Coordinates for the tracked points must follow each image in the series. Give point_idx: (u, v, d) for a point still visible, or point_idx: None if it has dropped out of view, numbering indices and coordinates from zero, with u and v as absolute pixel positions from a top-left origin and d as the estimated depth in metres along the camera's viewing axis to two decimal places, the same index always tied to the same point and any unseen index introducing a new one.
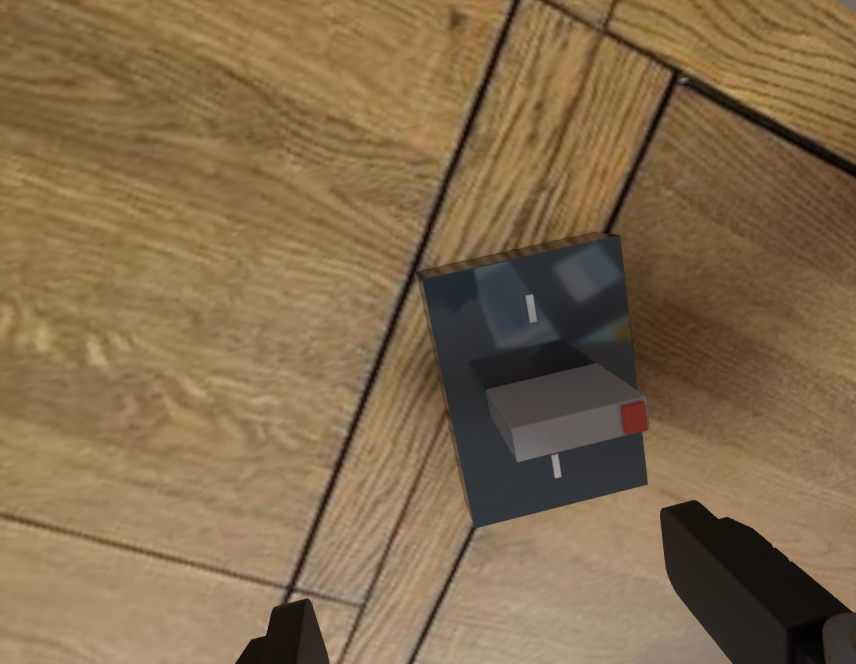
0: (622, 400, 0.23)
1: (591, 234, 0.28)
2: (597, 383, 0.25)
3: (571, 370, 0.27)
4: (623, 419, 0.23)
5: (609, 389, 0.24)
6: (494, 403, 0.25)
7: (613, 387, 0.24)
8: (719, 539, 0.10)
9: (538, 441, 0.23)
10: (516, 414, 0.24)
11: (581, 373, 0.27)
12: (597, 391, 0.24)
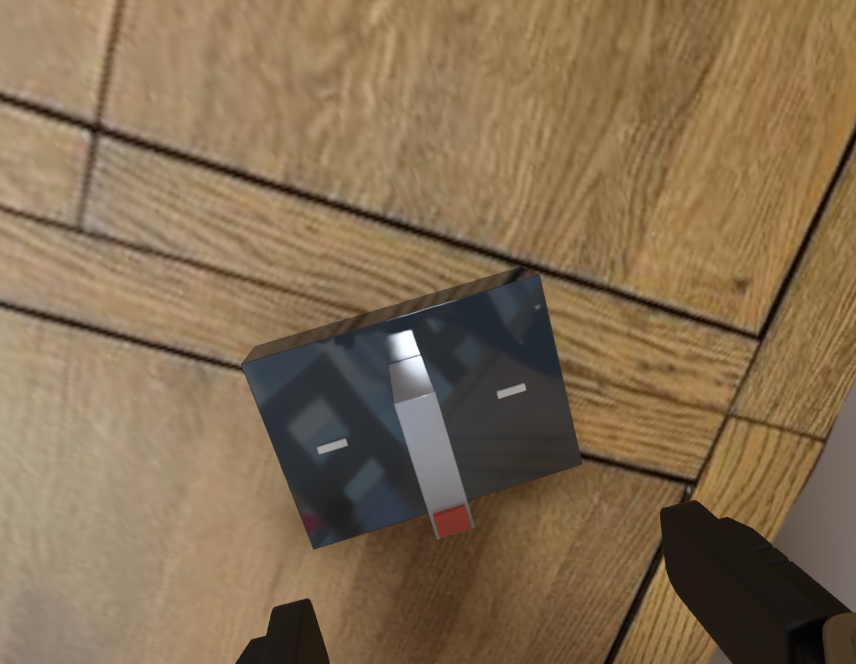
0: (468, 504, 0.21)
1: None
2: None
3: None
4: (450, 510, 0.21)
5: None
6: (425, 367, 0.23)
7: None
8: (719, 539, 0.10)
9: (421, 424, 0.20)
10: None
11: None
12: None
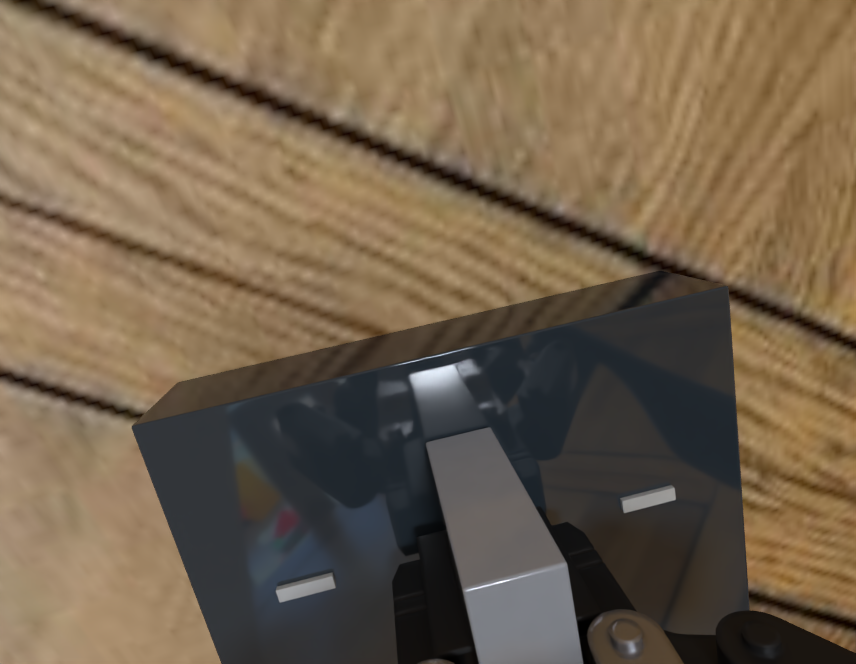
0: None
1: None
2: None
3: None
4: None
5: None
6: (509, 465, 0.11)
7: None
8: None
9: (523, 637, 0.08)
10: None
11: None
12: None
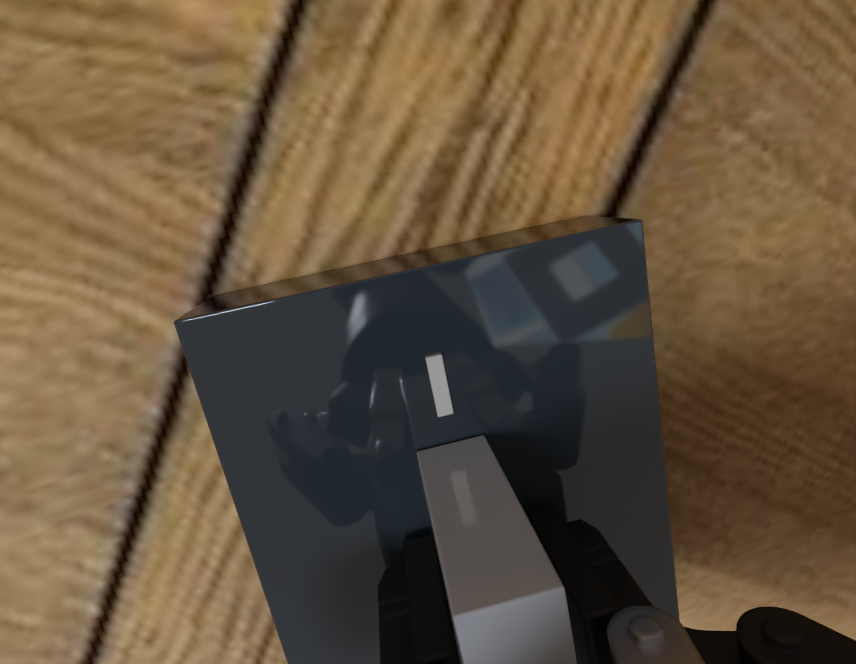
0: None
1: (578, 219, 0.14)
2: None
3: None
4: None
5: None
6: (504, 477, 0.10)
7: None
8: (558, 539, 0.11)
9: None
10: None
11: None
12: None
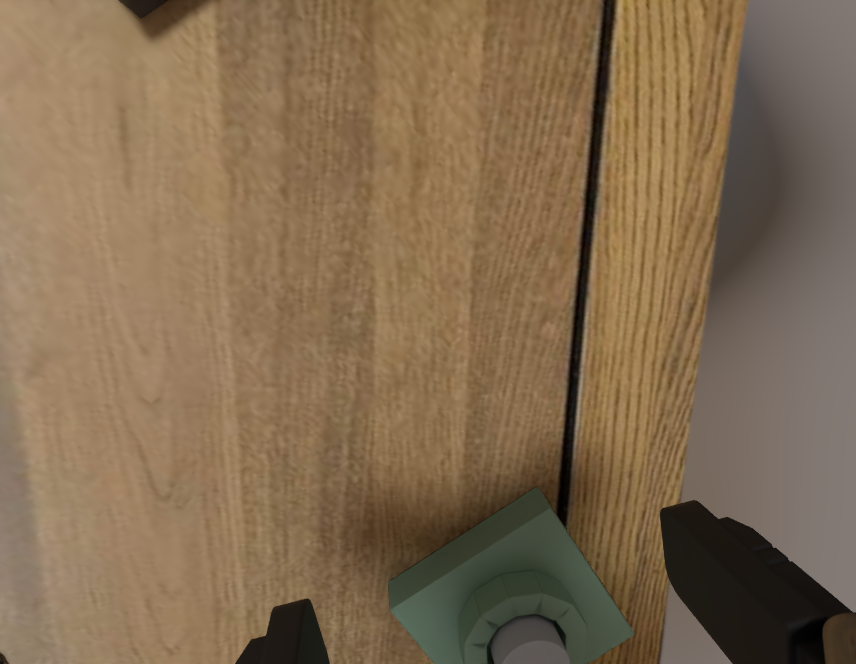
0: None
1: None
2: None
3: None
4: None
5: None
6: None
7: None
8: (719, 539, 0.10)
9: None
10: None
11: None
12: None
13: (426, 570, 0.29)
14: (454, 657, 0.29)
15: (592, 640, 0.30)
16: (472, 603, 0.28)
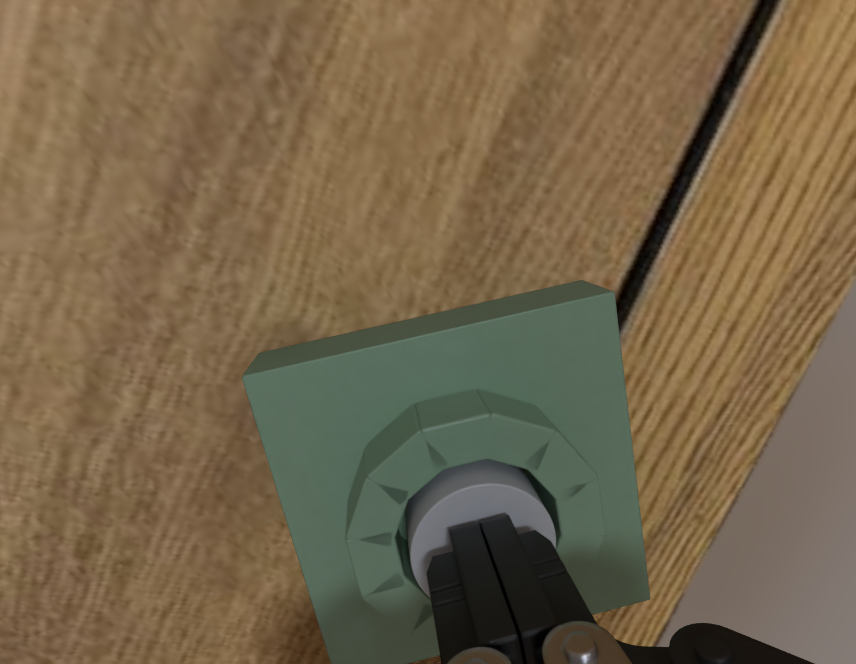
0: None
1: None
2: None
3: None
4: None
5: None
6: None
7: None
8: (508, 551, 0.11)
9: None
10: None
11: None
12: None
13: (338, 343, 0.15)
14: (329, 524, 0.15)
15: None
16: (406, 417, 0.14)
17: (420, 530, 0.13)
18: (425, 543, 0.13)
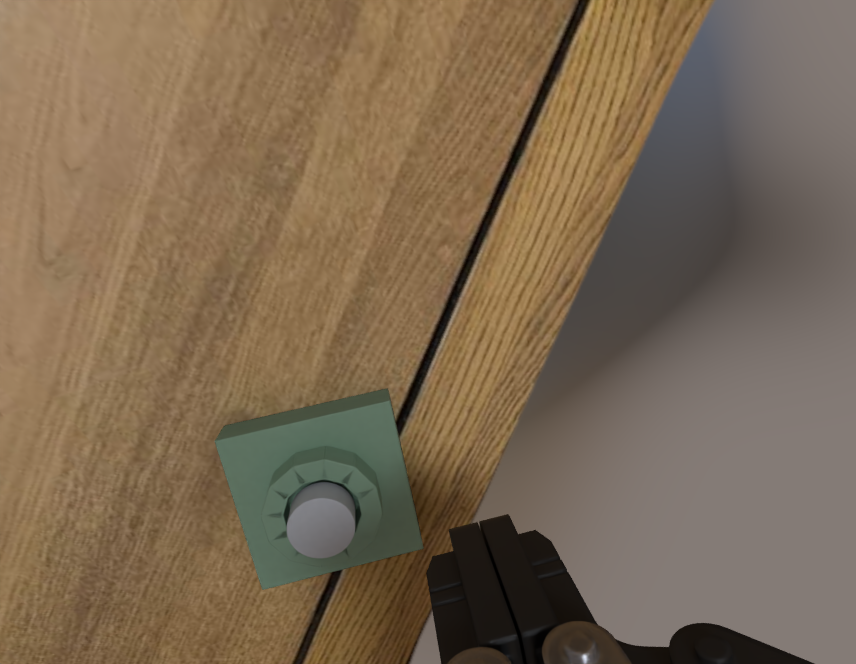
0: None
1: None
2: None
3: None
4: None
5: None
6: None
7: None
8: (508, 551, 0.11)
9: None
10: None
11: None
12: None
13: (262, 422, 0.31)
14: (256, 509, 0.31)
15: (384, 540, 0.33)
16: (290, 460, 0.30)
17: (290, 518, 0.28)
18: (293, 525, 0.28)
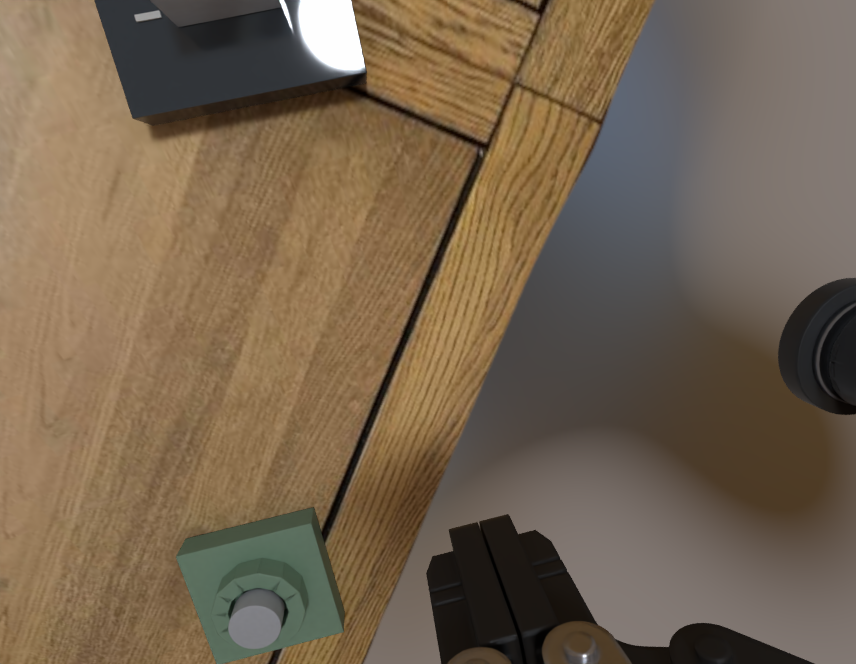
0: None
1: None
2: (182, 8, 0.28)
3: (203, 21, 0.30)
4: None
5: (174, 2, 0.27)
6: None
7: (169, 3, 0.27)
8: (508, 552, 0.11)
9: None
10: None
11: (195, 18, 0.30)
12: (185, 0, 0.27)
13: (213, 538, 0.40)
14: (210, 605, 0.40)
15: (312, 626, 0.42)
16: (234, 570, 0.39)
17: (230, 621, 0.37)
18: (233, 625, 0.37)
